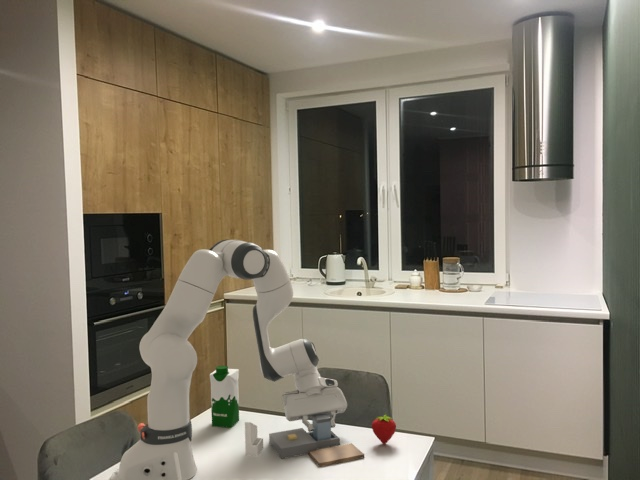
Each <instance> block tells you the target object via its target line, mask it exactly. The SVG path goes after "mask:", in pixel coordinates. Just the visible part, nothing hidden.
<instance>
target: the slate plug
mask: <svg viewBox="0 0 640 480" xmlns="http://www.w3.org/2000/svg"><path fill="white" fill-rule="evenodd" d="M331 419H332V417H331V418H330V416H329V415H327V414H319V415H312V418H311V424H313V425H314V426H313V427H314V431H312V432H313V439H314V440H315V441H320V440H326V439H331V431H332V428H331Z"/></svg>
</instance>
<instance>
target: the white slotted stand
mask: <svg viewBox="0 0 640 480" xmlns="http://www.w3.org/2000/svg"><path fill="white" fill-rule="evenodd" d="M244 439H245V441H244V443H245V444H244V445H245V456H246V457H247V456H248V457H258V456H259V455H260V454H261V453H262V451H263V449H264V438H263V437H258V426H257V425H256V424H254V423H253V422H251V421H250V422H249V421H247V422H246V421H245V422H244Z"/></svg>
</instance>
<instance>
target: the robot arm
mask: <svg viewBox="0 0 640 480" xmlns="http://www.w3.org/2000/svg"><path fill="white" fill-rule="evenodd" d="M227 276H228V277H230V278H233V279H242V280H243V281H244V280H247V281H249V280H251V281H252V282H253V286H254V289H255V291H256V296H257V297H256V298H257V299H256V304H254V306H253V307H252V319H253V327H254V332H255V338H256V343H257V350H258V354H259V369H260V372H261V375H262V376H263V377H264V379H266V380H267V381H271V382H275V383H276V382H277V381H280V380H281V379H283V378H285V377H289V376H291V375H292V376H293V378H294V385H295V389H296V390H292V391H285V392H284V393H283V394H282V395H281V402H282V404H283V405H284V414H285V418H286V420H287V421H288V422H295V421H301V423H302V424H303V425H304V426H305V427H306V428H307V430H308V432H313V431H314V427H313V426H314V425H313V424H312V423H311V422H309V420H308V419H312V415H319V414H327V415H328V416H329V417H330V418H331V429H332V428H335V427H336V425H337V424H336V422H335V419H336V416H337V414H342V413H344V412H345V411H346V409H348V402H347V399H346V397H345V394H344V393H343V391H342V389H341V388H339V387H338V386H339V382H338V381H337V380H336V379H332V378H325V377H322V376H321V374H320V372H319V371H318V364H319V361H320V360H319V357H318V354H317V351H316V347H315V343H313V342H312V341H311V340H309V339H307V338H300V339H297V340H293V341H291V342H289V343H286V344H283V345H281V346H278V347H277V346H276V347H271V343H270V336H269V330H268V328H269V326H270V324H271V322H272V321H273V320H274V319H275V318H276V317H278V316H279V315H280V314H281V313H283V312H284V311H285V310H286V309H287V308H288V307H289V305H290V304H291V303H292V301H293V297H294V289H293V285H292V281H291V279H290V276H289V273H288V271H287V269H286V266H285V263H284V262H283V261H282V259H281V257H280V256H279V254H278V253H277V252H276V251H275V250H273V249H263V248H262V247H260V246H259V245H258V244H256V243H253V242H247V241H244V240H240V239H227V238H226V239H222V240H219V241H217V242H216V243H215V244H213V245H212V247H211V248H209V249H206V248H205V249H204V248H203V249H202V248H201V249H198V250H196V251H194V252H193V253H192V255H191V256H190V257H189V258H188V260H187V262H186V264H185V265H184V267H183V269H182V270H181V272H180V274H179V276H178V278H177V281H176V283H175V285H174V287H173V289H172V292H171V294H170V295H169V298H168V300H167V302H166V304H165V306H164V308H163V310H162V311H161V312H160V314H159V315H158V317H157V318H156V320H155V321H154V322H153V325H152V326H151V327H150V329H149V330H148V332H146V333H145V334H144V335H143V336H142V338H141V340H140V342H139V346H138V347H139V353H140V356H141V359H142V360H143V362H144V363H145V364H146V365H147V366H148V367H150V371H151V381H150V382H151V383H150V387H149V388H150V389H149V392H148V394H147V398H146V401H147V402H146V403H147V408H146V409H147V424H145V423H144V422H142V423H139V424H138V425H137V431H138V432H139V437H140V439H139V440H138V441H137V442H136V443H134V444H133V445H132V446H131V447H130V448H129V449H127V450H126V451H125V452H124V453H123V455H122V457H121V459H120V463H119V467H118V468H117V469H116V470H115V471H114V472H113V473H112V474H111V477H110V480H191V478H193V477H194V476H195V475H196V474H197V473H198V472H197V471H198V468H197V465H196V462H195V458H194V454H193V446H192V440H193V425H192V420H191V419H190V418H191V416H190V389H191V382H192V378H193V372H194V371H195V369H196V368H197V364H198V354H197V351H196V350H195V348H194V347H193V345H192V343H191V342H190V341H189V340H188V339H189V338H190V336H191V335H192V333H193V332H194V330H195V329H197V327H198V326H199V325H200V324H202V323H203V321H204V320H205V317H206V315H207V314H208V310H209V309H210V306H211V305H212V301H213V300H214V297H215V294H216V293H217V290H218V287H219V284H220V283H221V281H222V280H223V279H224V278H225V277H227Z"/></svg>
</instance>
